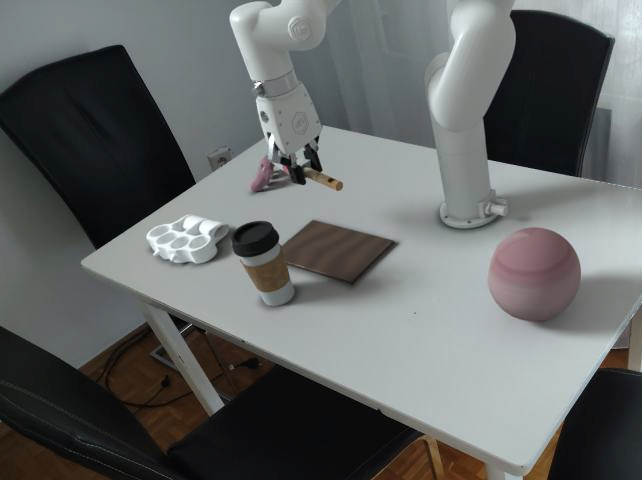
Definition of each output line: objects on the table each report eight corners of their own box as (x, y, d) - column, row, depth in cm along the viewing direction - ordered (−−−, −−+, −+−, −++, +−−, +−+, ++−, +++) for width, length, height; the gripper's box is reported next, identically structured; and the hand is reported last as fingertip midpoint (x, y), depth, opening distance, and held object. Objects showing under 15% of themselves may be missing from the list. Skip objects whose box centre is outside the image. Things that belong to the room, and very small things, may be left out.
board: (394, 243, 128) (393, 240, 128) (352, 285, 120) (351, 281, 120) (313, 222, 139) (312, 219, 138) (270, 259, 131) (268, 256, 130)
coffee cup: (280, 315, 117) (251, 249, 107) (248, 304, 121) (217, 239, 111) (309, 287, 122) (284, 221, 112) (277, 277, 126) (250, 213, 115)
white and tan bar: (280, 146, 127) (345, 175, 116) (284, 159, 129) (348, 188, 118) (264, 155, 125) (329, 185, 114) (269, 167, 127) (333, 198, 116)
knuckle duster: (241, 234, 140) (192, 274, 131) (187, 220, 148) (138, 256, 140) (236, 221, 137) (185, 261, 129) (181, 207, 146) (131, 243, 137)
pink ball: (514, 274, 115) (507, 202, 105) (594, 291, 109) (595, 217, 98) (476, 327, 107) (464, 255, 96) (560, 350, 100) (557, 275, 90)
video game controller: (268, 197, 153) (272, 172, 148) (249, 192, 152) (252, 166, 147) (276, 176, 160) (280, 151, 155) (257, 171, 159) (261, 146, 154)
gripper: (256, 106, 103) (293, 203, 116) (322, 64, 112) (349, 158, 125) (226, 102, 107) (264, 196, 120) (292, 61, 116) (321, 153, 129)
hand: (307, 176), depth 122 cm, fingers closed on white and tan bar, 4 cm apart
